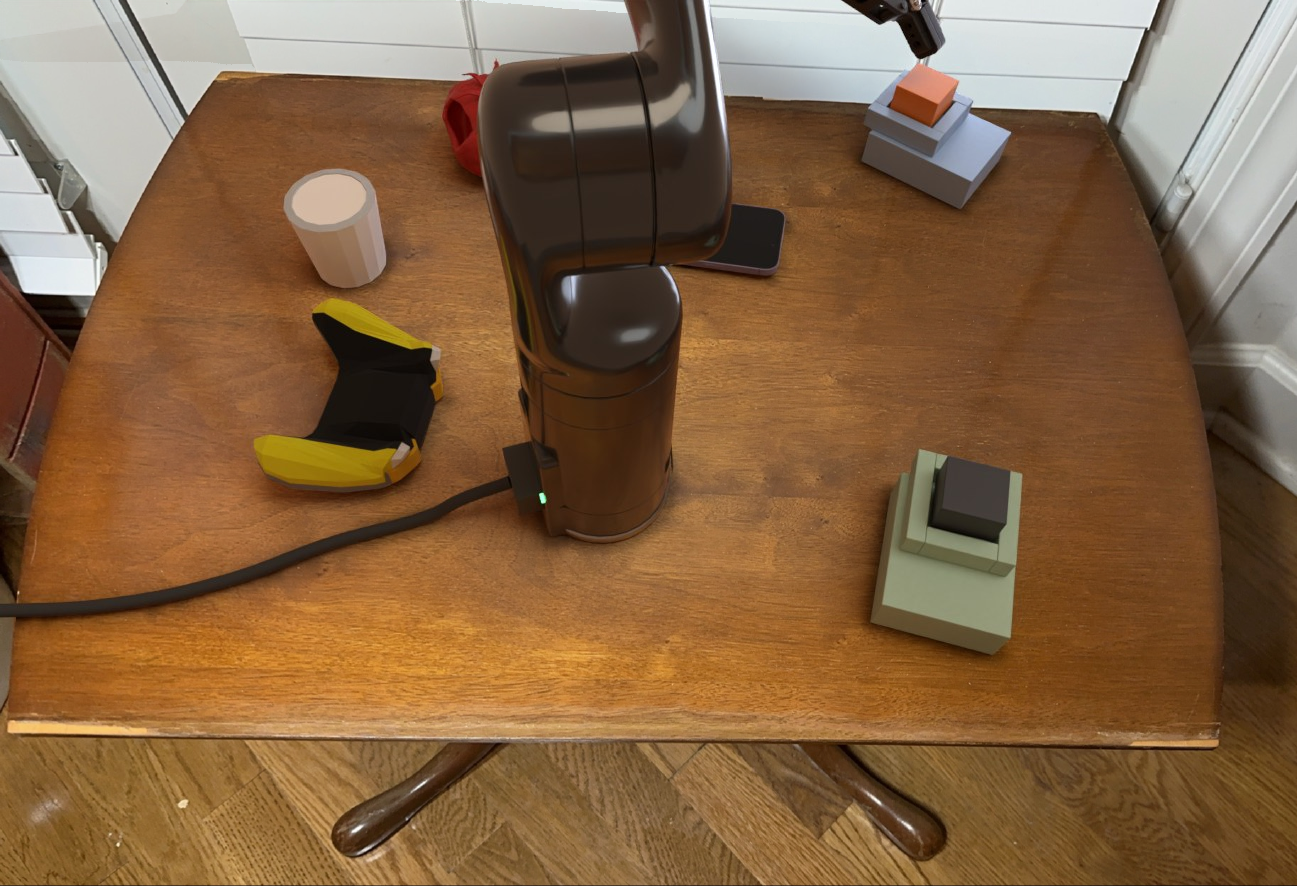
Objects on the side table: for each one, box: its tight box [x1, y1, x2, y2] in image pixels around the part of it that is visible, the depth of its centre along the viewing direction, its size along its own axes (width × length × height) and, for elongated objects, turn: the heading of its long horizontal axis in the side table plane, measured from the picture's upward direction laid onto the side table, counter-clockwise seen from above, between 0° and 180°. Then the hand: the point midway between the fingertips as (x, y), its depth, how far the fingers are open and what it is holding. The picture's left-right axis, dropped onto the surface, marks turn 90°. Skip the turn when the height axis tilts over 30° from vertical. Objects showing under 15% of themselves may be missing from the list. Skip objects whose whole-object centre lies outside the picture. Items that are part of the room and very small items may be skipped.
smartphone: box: [681, 202, 786, 277], centre depth 78 cm, size 7×1×15 cm
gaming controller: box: [253, 297, 444, 493], centre depth 65 cm, size 15×6×10 cm
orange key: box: [890, 62, 960, 127], centre depth 80 cm, size 4×4×3 cm
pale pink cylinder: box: [282, 167, 387, 289], centre depth 72 cm, size 7×7×7 cm
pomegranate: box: [441, 58, 500, 178], centre depth 79 cm, size 10×10×9 cm
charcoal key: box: [930, 455, 1012, 542], centre depth 58 cm, size 4×4×2 cm
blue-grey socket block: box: [861, 69, 1012, 210], centre depth 82 cm, size 11×8×5 cm
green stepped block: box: [869, 448, 1023, 656], centre depth 60 cm, size 11×8×5 cm
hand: (932, 52), depth 76 cm, fingers closed
